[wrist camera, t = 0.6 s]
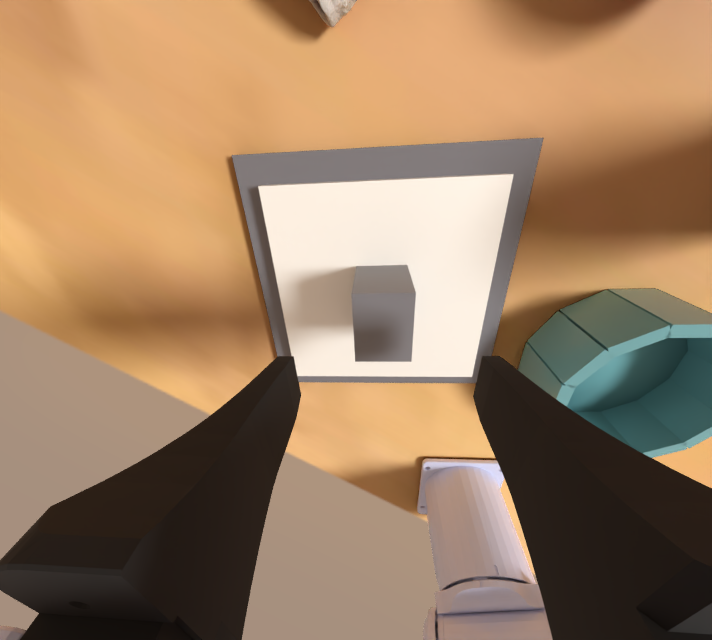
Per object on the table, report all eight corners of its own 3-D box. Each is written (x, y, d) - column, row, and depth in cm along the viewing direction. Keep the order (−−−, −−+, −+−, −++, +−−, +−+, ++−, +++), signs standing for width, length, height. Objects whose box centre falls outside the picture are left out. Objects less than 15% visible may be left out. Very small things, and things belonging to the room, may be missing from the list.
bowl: (644, 411, 23) (700, 463, 19) (505, 409, 24) (531, 458, 20) (725, 287, 17) (826, 323, 14) (541, 290, 18) (587, 325, 14)
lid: (468, 368, 21) (492, 421, 17) (298, 367, 22) (279, 418, 18) (505, 173, 15) (560, 178, 10) (264, 185, 16) (222, 194, 11)
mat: (482, 378, 22) (485, 383, 22) (285, 377, 23) (283, 381, 23) (537, 138, 14) (543, 137, 14) (236, 155, 16) (231, 155, 15)
